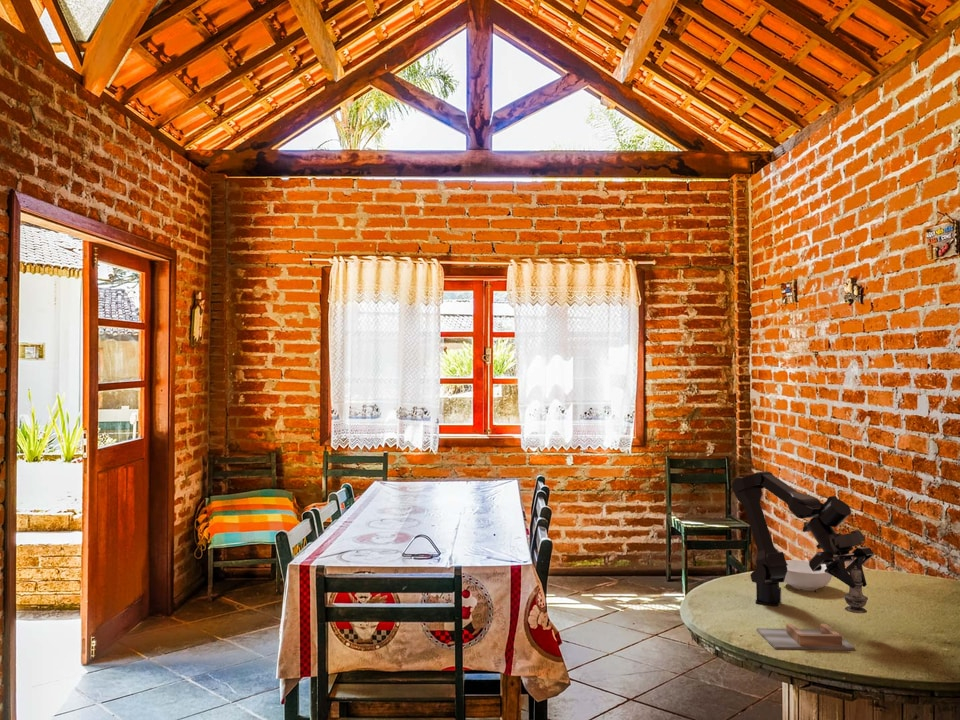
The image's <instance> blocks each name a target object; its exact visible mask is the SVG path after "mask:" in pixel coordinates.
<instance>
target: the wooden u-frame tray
mask: <svg viewBox="0 0 960 720" xmlns="http://www.w3.org/2000/svg"><path fill="white" fill-rule="evenodd" d="M785 624H786V626H785V628H766V627H765V628H762V627H761V628H757V627H756V631H757V633H758V634H759V633H760V636H761V637H762V638H763V639H764V640H765V641H766V642H767V643H768V644H769V645H770V646H771V647H772V648H773V650H774V649H775V650H811V649H814V650H818V649H821V650H822V651H824V650H826V651H827V650H829V651H856V648H855V646H854V645H852V644H851V643H850V642H848V641H847V640H845V639H844V638H843V636H842V635H841V634H839V632H837V631H836V630H835V629H833V628H832V627H831V626H829V625H828V624H827V623H820V628H797V626H796V625H794V624H793V623H785ZM821 650H820V651H821Z"/></svg>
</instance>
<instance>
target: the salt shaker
mask: <svg viewBox="0 0 960 720" xmlns="http://www.w3.org/2000/svg"><path fill="white" fill-rule="evenodd" d="M854 567H855V568H853V569H851V570H850V573H849V575H850V576H851V578H852V580H853V581H854V583H855V585H856V587H855V588H851V587H850V586H848V587H849V588H848V589H849V590H848V592H847V593H844V594H843V598H844V600H845V604H847V606H845V607H844V610H845V611H847V612H849V613H851V614H852V613H854V614H866V613H868V610H866V608H865V606H866V605H867V601H868V600H869V598H868V597H867V596H866V595H864V593H863V586H862V584H863V583H862V573H861V571H860V570H859V569H857V568H856V565H855V566H854Z"/></svg>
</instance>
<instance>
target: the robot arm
mask: <svg viewBox="0 0 960 720" xmlns="http://www.w3.org/2000/svg"><path fill="white" fill-rule="evenodd" d="M731 486H732V492H733V493H734V496H735V497H736V499H737V501H738V502H739V503H740V504H741V505H742V506H743V507H744V511H745V513H746V517H747V520H748V523H749V526H750V530H751V534H752V536H753V540H754V543H755V546H756V549H757V553H756V557H755V565H756V567H755V569H754V570H753V571H752V572H751V573H750V574H749V575H750V580H751V582H752V583H755V584H756V589H755V590H756V591H755V592H756V593H755V595H756V596H755V597H756V600H755V604H760V605H761V604H762V605H768V606H776V607H777V606H779V604H780V603H782V602H781V601H782V587H780V583H785V582H784V579H785V576H786V573H787V565H788V564H787V563H786V556H785V554H784V552H783V551H778V550H777V549H776V548H775V545H774V543H773V538H772V537H771V532H770V529H769V526H768V524H767V523H768V522H767V521H766V517H765V514H764V511H763V509H762V505H761V501H762V495H763V490H762V489H765V490H767V491H769V492H770V493H771V494H773V495H774V496H776V497H777V498H778V499H779V500H781V501H782V502H784V503H785V504H786V505H787V507H788V510H789V511H790V513H792V514H793V515H794V516H795V517H796V518H798V519H799V520H802V519H809V520H808V521H805V522H803V526H802V532H803V533H807V532H810V533H811V535H812V536H813V537H814V539H815V541H816V542H817V544H816V545H815V546H816V548H817V550H822V551H817V553H816V554H815V555H814V556H813V557H811V558H810V559H809V560H808V561H809V566H810V568H811V569H812V571H813V572H814V571H820V570H821V568H822V566H821V564H825V565H826V568H827V569H826V570H825V573H829V574H831V575H832V577H834V578H836V579H838V580H839V581H841V582H842V583H844V584H845V585H847V586H848V587H849V586H850V587H851V588H855V587H856V585H855V583H854V581H853V580H852V578H851V576H850V570H851V569H853V568H855V567H854V566H855V565H856V568H857V569H859V570H860V571H861V573H862V583H863V584H862V588H864V587H866V586H867V585H868V583H867V580H866V577H865V572H864V569H863V565H864V564H866V562H868V561H869V560H870V559H871V558H872V557H873V556H874V555H875V553H874V551H873V550H872V548H870V547H868V546H862V545H863V542H865V535H864V534H863V532H862V531H861V530H860V529H856V530H855V529H854V530H852V531H851V530H850V533H845V534H843V533H841V532H840V533H837V531H836V530H835V528H837V527H839V526H840V525H841V524H842V523H843V522H844V521H845V520H846V519H847V518H848V517H849V516H850V515H851V514H852V509H851V507H850V506H849V504H847V503H846V502H845V501H843V500H841V499H840V498H838V497H837V496H836V495H830V496H829V497H827V499H826V500H825V502H824V503H823V502H821V501H820V499H819V498H817V497H815V496H813V495H810V494H808V493H802V492H800V491H797V490H796V489H794V488H792V487H791V486H790V485H788V484H787V483H786V482H784V481H782V480H781V479H779V478H778V477H776V476H775V475H774V474H773V473H772V472H771V471H757V472H755V473H752V474H751V475H747V476H743V477H742V476H740V477H736V478H734V480H733V482H732V484H731ZM855 546H862V547H857V548H855V549H854V547H855ZM853 549H854V550H853ZM852 550H853V551H852ZM851 551H852V552H851ZM846 566H847V567H846Z"/></svg>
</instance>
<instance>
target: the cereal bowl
mask: <svg viewBox="0 0 960 720" xmlns="http://www.w3.org/2000/svg"><path fill="white" fill-rule="evenodd" d="M785 560H786V559H785ZM809 561H810V560H805V559H803V560H802V559H791V560H790V559H788V560H786V563H787V564H788V565H787V573H786V576H785V579H784V582H783V583H786V584H787V585H790V586H791V587H792V588H793V589H796V588H797V590H800V589H803V590H802V591H816V590H818V589H819V588H824V587H825V586H827V585H828V584H829V583H830V582H831V581H832V579H833V578H832V577H833V576H832V575H831V574H829V573H825V570H826V569H827V568H826V565H825V564H821V566H822V568H821V570H820V571H814V572H813V571H812V569H811V568H810V566H809ZM815 589H816V590H815Z"/></svg>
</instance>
